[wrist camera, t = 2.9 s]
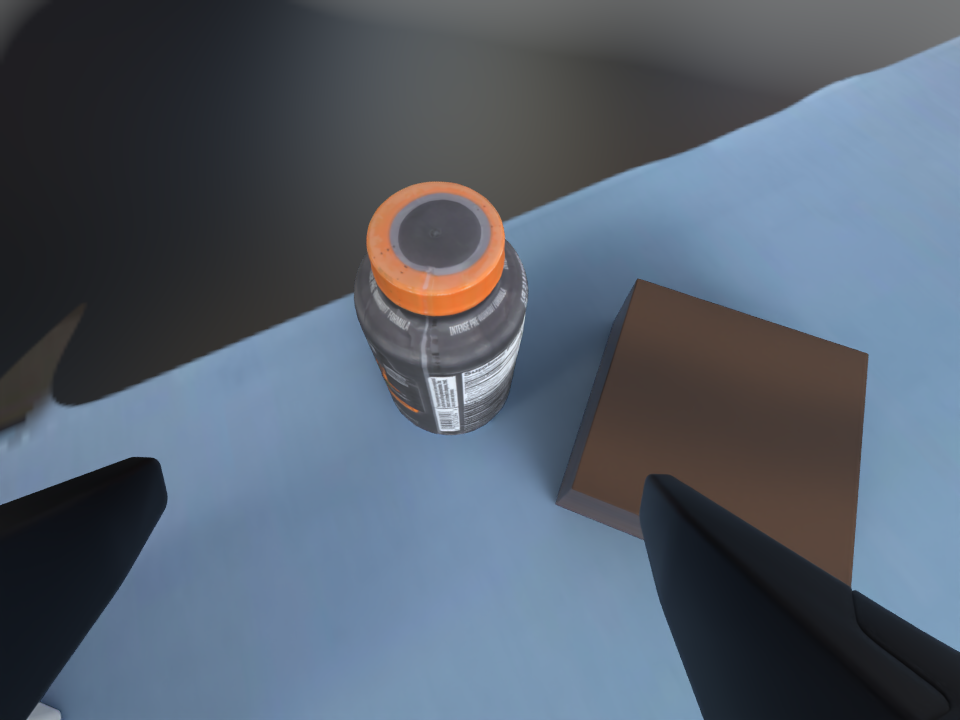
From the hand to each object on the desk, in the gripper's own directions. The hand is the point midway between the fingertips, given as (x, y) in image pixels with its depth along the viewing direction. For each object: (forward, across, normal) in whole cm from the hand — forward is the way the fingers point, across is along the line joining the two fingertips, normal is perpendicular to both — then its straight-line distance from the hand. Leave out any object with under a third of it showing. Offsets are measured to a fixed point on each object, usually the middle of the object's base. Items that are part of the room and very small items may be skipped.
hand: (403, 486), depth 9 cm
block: (+13, -11, +6) cm, 18 cm away
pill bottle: (+15, 0, +4) cm, 15 cm away
